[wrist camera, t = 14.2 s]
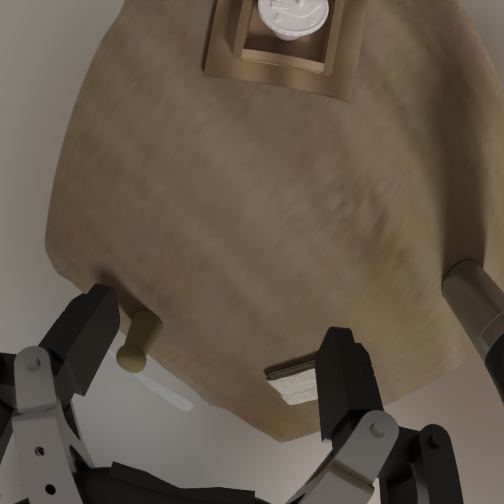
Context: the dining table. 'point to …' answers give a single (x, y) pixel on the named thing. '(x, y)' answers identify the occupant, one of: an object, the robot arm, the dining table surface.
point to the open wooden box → (288, 49)
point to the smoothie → (293, 16)
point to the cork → (139, 341)
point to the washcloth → (295, 383)
